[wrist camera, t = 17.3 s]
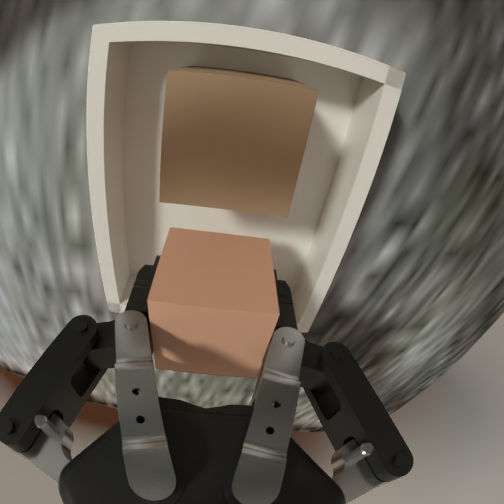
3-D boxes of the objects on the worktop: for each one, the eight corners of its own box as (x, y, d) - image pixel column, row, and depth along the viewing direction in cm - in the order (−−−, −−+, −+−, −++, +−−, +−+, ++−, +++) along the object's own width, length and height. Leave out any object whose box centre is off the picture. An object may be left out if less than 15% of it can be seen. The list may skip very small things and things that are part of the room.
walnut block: (191, 65, 11) (167, 70, 7) (294, 79, 12) (318, 91, 8) (181, 158, 14) (159, 202, 10) (274, 169, 14) (287, 217, 11)
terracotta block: (169, 297, 16) (155, 368, 12) (170, 226, 13) (147, 300, 10) (252, 306, 16) (255, 377, 13) (269, 238, 14) (279, 314, 10)
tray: (124, 28, 10) (93, 25, 7) (372, 66, 12) (406, 72, 9) (124, 272, 19) (109, 311, 16) (299, 292, 21) (307, 332, 18)
